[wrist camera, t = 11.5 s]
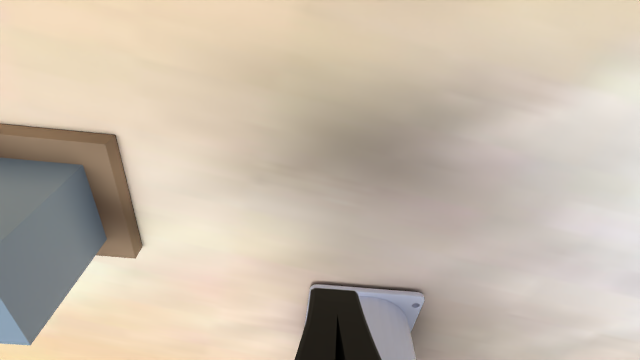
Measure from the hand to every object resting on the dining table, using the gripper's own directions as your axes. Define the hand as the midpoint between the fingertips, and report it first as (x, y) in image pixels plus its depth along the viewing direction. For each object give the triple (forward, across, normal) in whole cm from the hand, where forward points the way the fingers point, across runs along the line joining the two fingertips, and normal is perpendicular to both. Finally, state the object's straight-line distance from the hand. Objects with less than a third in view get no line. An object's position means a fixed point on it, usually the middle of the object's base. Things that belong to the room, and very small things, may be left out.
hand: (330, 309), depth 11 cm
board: (+9, +15, +4) cm, 18 cm away
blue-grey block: (+8, +15, +4) cm, 18 cm away
